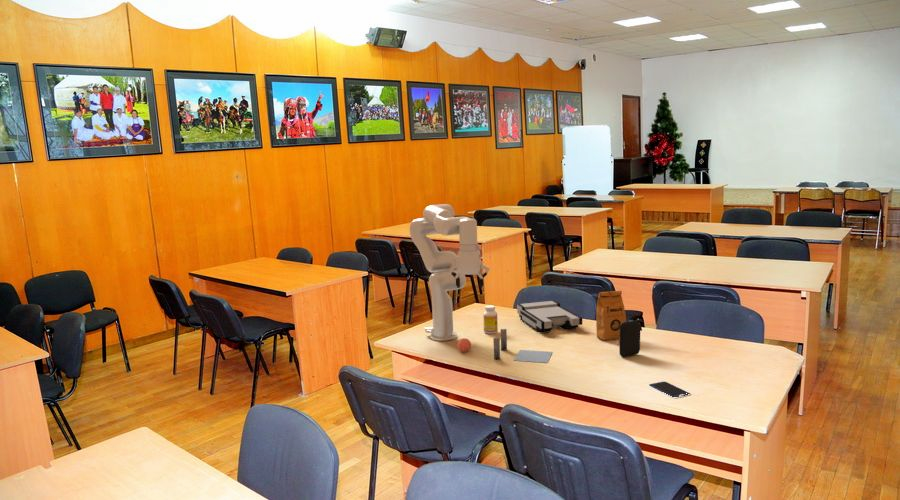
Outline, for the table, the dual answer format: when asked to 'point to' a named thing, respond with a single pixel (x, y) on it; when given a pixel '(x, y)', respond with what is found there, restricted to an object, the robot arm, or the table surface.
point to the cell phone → (669, 389)
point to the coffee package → (609, 315)
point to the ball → (464, 345)
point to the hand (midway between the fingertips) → (469, 287)
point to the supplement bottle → (490, 320)
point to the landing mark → (533, 356)
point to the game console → (547, 316)
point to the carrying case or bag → (629, 338)
